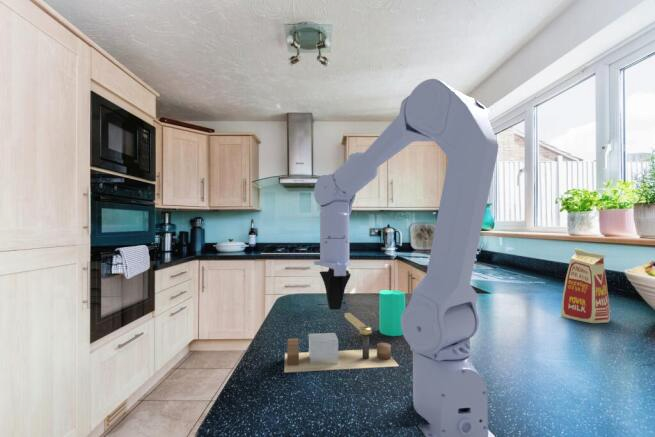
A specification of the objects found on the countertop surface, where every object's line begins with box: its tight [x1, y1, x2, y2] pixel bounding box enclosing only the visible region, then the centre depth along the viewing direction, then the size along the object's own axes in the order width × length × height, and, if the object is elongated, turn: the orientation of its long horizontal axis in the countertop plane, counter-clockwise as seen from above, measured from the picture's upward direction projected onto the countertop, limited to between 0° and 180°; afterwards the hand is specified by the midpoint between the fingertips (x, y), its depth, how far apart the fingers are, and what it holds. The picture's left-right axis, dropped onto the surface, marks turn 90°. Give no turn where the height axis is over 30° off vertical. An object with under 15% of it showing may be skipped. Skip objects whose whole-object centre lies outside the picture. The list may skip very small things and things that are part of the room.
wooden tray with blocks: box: [283, 334, 400, 373], centre depth 56 cm, size 8×20×6 cm, turn 97°
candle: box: [378, 289, 406, 337], centre depth 72 cm, size 6×6×12 cm
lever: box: [344, 312, 372, 336], centre depth 62 cm, size 2×12×1 cm, turn 14°
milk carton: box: [560, 247, 611, 324], centre depth 88 cm, size 9×9×20 cm
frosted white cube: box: [308, 332, 339, 366], centre depth 56 cm, size 4×5×4 cm
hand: (334, 308), depth 59 cm, fingers closed
